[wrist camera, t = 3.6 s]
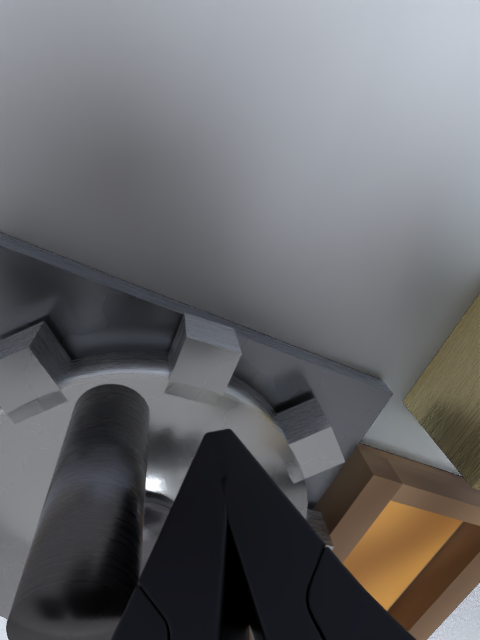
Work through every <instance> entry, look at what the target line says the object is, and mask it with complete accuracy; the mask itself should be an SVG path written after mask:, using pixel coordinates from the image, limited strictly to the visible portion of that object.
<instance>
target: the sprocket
mask: <svg viewBox="0 0 480 640" xmlns="http://www.w3.org/2000/svg"><path fill="white" fill-rule="evenodd" d="M241 355H242V352H241V349H240V346H239V342H238V339H237V336H236V333H235V330H234V328H232V327H228V326H225V325H222V324H219V323H216V322H212V321H209V320H206V319H203V318H200V317H197V316H193V315H190V314H187V313H184V315H183V318H182V320H181V323H180V325H179V328H178V330H177V333H176V335H175V338H174V340H173V343H172V346H171V348H170V351H169V353H164V352H152V351H117V352H107V353H101V354H95V355H88V356H84V357H80V358H77V359H73V360H71V358H70V357H69V356H68V354H67V353H66V351H65V350H64V348H63V347H62V345H61V344H60V343H59V341H58V340H57V338H56V337H55V335H54V334H53V333H52V331H51V330H50V328H49V327H48V325H47V324H46V322H45V321H42V322H40V323H38V324H36V325H33V326H31V327H29V328H27V329H24V330H22V331H20V332H18V333H15V334H13V335H11V336H9V337H6V338H4V339H2V340H0V616H2V617H4V618H6V619H8V620H7V625H6V632H7V636H8V639H9V640H111V638H112V636H113V634H114V632H115V630H116V627H117V625H118V623H119V621H120V619H121V617H122V615H123V613H124V611H125V609H126V607H127V604H128V602H129V600H130V598H131V595H132V593H133V591H134V589H135V587H138V584H137V583H138V580H139V578H140V576H141V574H142V571H143V569H144V567H145V565H146V563H147V560H148V558H149V556H150V554H151V551H152V549H153V547H154V545H155V543H156V540H157V538H158V536H159V534H160V531H161V529H162V527H163V525H164V523H165V520H166V518H167V516H168V514H169V511H170V509H171V507H172V505H173V503H174V500H175V498H176V496H177V494H178V491H179V489H180V487H181V485H182V482H183V480H184V478H185V476H186V474H187V471H188V469H189V467H190V465H191V462H192V460H193V458H194V456H195V454H196V451H197V449H198V447H199V445H200V442H201V440H202V438H203V436H204V434H205V433H207V432H212V431H217V430H223V429H231V430H232V431H233V432H234V433H235V434H236V435H237V437H238V438H239V439H240V440H241V441H242V443H243V444H244V445H245V446H246V447H247V449H248V450H249V451H250V452H251V454H252V455H253V456H254V457H255V458H256V460H257V461H258V462H259V463H260V464H261V466H262V467H263V468H264V469H265V470H266V472H267V473H268V474H269V475H270V477H271V478H272V479H273V480H274V481H275V483H276V484H277V485H278V486H279V487H280V489H281V490H282V491H283V492H284V493H285V495H286V496H287V497H288V498H289V500H290V501H291V502H292V503H293V504H294V506H295V507H296V508H297V509H298V510H299V512H300V513H301V514H302V515H303V516H304V518H305V519H306V520H307V521H308V523H309V524H310V525H311V526H312V527H313V529H314V530H315V531H316V532H317V533H318V535H319V536H320V537H321V538H322V539H323V541H324V542H325V543H326V547H329V548H330V549H331V550H332V549H333V548H334V545H333V542H332V540H331V537H330V534H329V532H328V529H327V527H326V524H325V522H324V519H323V516H322V514H321V511H316V510H311V509H307V507H308V502H307V488H306V483H305V479H306V478H308V477H311V476H313V475H315V474H318V473H320V472H322V471H325V470H327V469H330V468H332V467H334V466H337V465H339V464H341V463H344V462H345V460H344V457H343V455H342V452H341V450H340V447H339V445H338V442H337V440H336V437H335V435H334V432H333V430H332V427H331V425H330V423H329V422H328V420H327V418H326V416H325V414H324V412H323V410H322V408H321V406H320V404H319V402H318V400H317V399H316V397H314V398H312V399H310V400H307V401H305V402H303V403H300V404H298V405H296V406H293V407H291V408H289V409H286V410H284V411H282V412H279V413H276V412H275V410H274V409H273V408H272V407H271V405H270V404H269V403H268V402H267V401H266V400H265V399H264V398H263V397H262V396H261V395H260V394H259V393H258V392H257V391H255V390H254V389H253V388H252V387H250V386H249V385H248V384H247V383H245V382H244V381H242V380H240V379H239V378H237V377H235V376H234V375H232V374H233V372H234V370H235V368H236V366H237V364H238V361H239V359H240V357H241Z"/></svg>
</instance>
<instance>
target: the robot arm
mask: <svg viewBox="0 0 480 640" xmlns="http://www.w3.org/2000/svg"><path fill="white" fill-rule="evenodd" d="M137 584H138V587H135V589H134V591H133V593H132V595H131V598H130V600H129V602H128V604H127V607H126V609H125V611H124V613H123V615H122V617H121V619H120V621H119V623H118V625H117V627H116V630H115V632H114V634H113V636H112V638H111V640H250V630H251V633H252V637H253V640H416V639H415V638H414V637H413V636H412V635H411V634H410V633H409V632H408V631H407V630H406V629H405V628H404V627H403V626H402V625H401V624H400V623H399V622H398V621H397V620H395V619H394V618H393V617H392V616H391V615H390V614H389V613H388V612H387V611H386V610H385V609H384V608H383V607H382V606H381V605H380V604H379V603H378V602H377V601H376V600H375V598H374V597H373V596H372V595H371V594H370V593H369V592H368V591H367V590H366V589H365V588H364V587H363V586H362V585H361V584H360V583H359V582H358V580H357V579H356V578H355V577H354V576H353V575H352V574H351V572H350V571H349V570H348V569H347V568H346V567H345V566H344V565H343V563H342V562H341V561H340V560H339V559H338V557H337V556H336V555H335V554H334V552H333V551H332V550H331V549H330V548H329V547H326V543H325V542H324V541H323V539H322V538H321V537H320V536H319V535H318V533H317V532H316V531H315V530H314V529H313V527H312V526H311V525H310V524H309V523H308V521H307V520H306V519H305V518H304V516H303V515H302V514H301V513H300V512H299V510H298V509H297V508H296V507H295V506H294V504H293V503H292V502H291V501H290V500H289V498H288V497H287V496H286V495H285V493H284V492H283V491H282V490H281V489H280V487H279V486H278V485H277V484H276V483H275V481H274V480H273V479H272V478H271V477H270V475H269V474H268V473H267V472H266V470H265V469H264V468H263V467H262V466H261V464H260V463H259V462H258V461H257V460H256V458H255V457H254V456H253V455H252V454H251V452H250V451H249V450H248V449H247V447H246V446H245V445H244V444H243V443H242V441H241V440H240V439H239V438H238V437H237V435H236V434H235V433H234V432H233V431H232V430H231V429H223V430H217V431H212V432H207V433H205V434H204V436H203V438H202V440H201V442H200V445H199V447H198V449H197V451H196V454H195V456H194V458H193V460H192V462H191V465H190V467H189V469H188V471H187V474H186V476H185V478H184V480H183V482H182V485H181V487H180V489H179V491H178V494H177V496H176V498H175V500H174V503H173V505H172V507H171V509H170V511H169V514H168V516H167V518H166V520H165V523H164V525H163V527H162V529H161V531H160V534H159V536H158V538H157V540H156V543H155V545H154V547H153V549H152V551H151V554H150V556H149V558H148V560H147V563H146V565H145V567H144V569H143V571H142V574H141V576H140V578H139V580H138V583H137ZM249 626H250V630H249Z"/></svg>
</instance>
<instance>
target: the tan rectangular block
mask: <svg viewBox="0 0 480 640" xmlns="http://www.w3.org/2000/svg"><path fill="white" fill-rule="evenodd" d="M403 403H404V405H405V406H406V407H407V408H408V410H409V411H410V412H411V413H412V415H413V416H414V417H415V418H416V419H417V421H418V422H419V423H420V424H421V426H422V427H423V428H424V429H425V431H426V432H427V433H428V434H429V435H430V437H431V438H432V439H433V440H434V442H435V443H436V444H437V445H438V447H439V448H440V449H441V450H442V451H443V453H444V454H445V455H446V456H447V458H448V459H449V460H450V461H451V463H452V464H453V465H454V466H455V467H456V469H457V470H458V471H459V472H460V474H461V475H462V476H463V477H464V479H465V480H466V481H467V482H468V483H469V485H470V486H471V487H472V488H474V489H477V490H480V293H479V295H478V296H477V298H476V299H475V300H474V302H473V303H472V305H471V306H470V307H469V309H468V310H467V312H466V313H465V314H464V316H463V317H462V319H461V320H460V322H459V323H458V324H457V326H456V327H455V329H454V330H453V331H452V333H451V334H450V336H449V337H448V338H447V340H446V341H445V343H444V344H443V345H442V347H441V348H440V350H439V351H438V352H437V354H436V355H435V357H434V358H433V359H432V361H431V362H430V364H429V365H428V366H427V368H426V369H425V371H424V372H423V373H422V375H421V376H420V378H419V379H418V381H417V382H416V383H415V385H414V386H413V388H412V389H411V390H410V392H409V393H408V395H407V396H406V397H405V399H404V400H403Z"/></svg>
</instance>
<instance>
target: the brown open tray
mask: <svg viewBox="0 0 480 640" xmlns="http://www.w3.org/2000/svg"><path fill="white" fill-rule="evenodd" d="M313 510H316V511H321V514H322V516H323V519H324V522H325V524H326V527H327V529H328V532H329V534H330V537H331V540H332V542H333V545H334V548H333V549H332V551H333V552H334V554H335V555H336V556H337V557H338V559H339V560H340V561H341V562H342V563H343V565H344V566H345V567H346V568H347V569H348V570H349V571H350V572H351V574H352V575H353V576H354V577H355V578H356V579H357V580H358V582H359V583H360V584H361V585H362V586H363V587H364V588H365V589H366V590H367V591H368V592H369V593H370V594H371V595H372V596H373V597H374V598H375V600H376V601H377V602H378V603H379V604H380V605H381V606H382V607H383V608H384V609H385V610H386V611H387V612H388V613H389V614H390V615H391V616H392V617H393V618H394V619H395V620H397V621H398V622H399V623H400V624H401V625H402V626H403V627H404V628H405V629H406V630H407V631H408V632H409V633H410V634H411V635H412V636H413V637H414V638H415V639H416V640H427V639H428V638H429V637H430V636H431V635H432V633H433V632H434V631H435V630H436V629H437V628H438V627H439V626H440V625H441V624H442V623H443V622H444V620H445V619H446V618H447V617H448V616H449V615H450V614H451V613H452V612H453V611H454V610H455V609H456V608H457V606H458V605H459V604H460V603H461V602H462V601H463V600H464V599H465V598H466V597H467V596H468V595H469V594H470V592H471V591H472V590H473V589H474V588H475V587H476V586H477V585H478V584H479V583H480V490H477V489H474V488H472V487H471V486H470V485H469V483H468V482H467V481H466V480H465V479H464V477H461V476H458V475H455V474H452V473H449V472H446V471H443V470H440V469H437V468H434V467H431V466H427V465H424V464H421V463H418V462H415V461H412V460H409V459H406V458H403V457H400V456H397V455H394V454H391V453H388V452H384V451H381V450H378V449H375V448H372V447H369V446H366V445H363V444H360V443H359V444H358V445H357V447H356V448H355V449H354V451H353V452H352V454H351V455H350V457H349V458H348V460H347V461H346V462H345V464H344V465H343V467H342V468H341V470H340V471H339V473H338V474H337V475H336V477H335V478H334V480H333V481H332V483H331V484H330V486H329V487H328V488H327V490H326V491H325V493H324V494H323V496H322V497H321V499H320V500H319V501H318V503H317V504H316V506H315V507H314V509H313ZM249 630H250V626H249ZM250 640H253V637H252V633H251V630H250Z"/></svg>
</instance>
